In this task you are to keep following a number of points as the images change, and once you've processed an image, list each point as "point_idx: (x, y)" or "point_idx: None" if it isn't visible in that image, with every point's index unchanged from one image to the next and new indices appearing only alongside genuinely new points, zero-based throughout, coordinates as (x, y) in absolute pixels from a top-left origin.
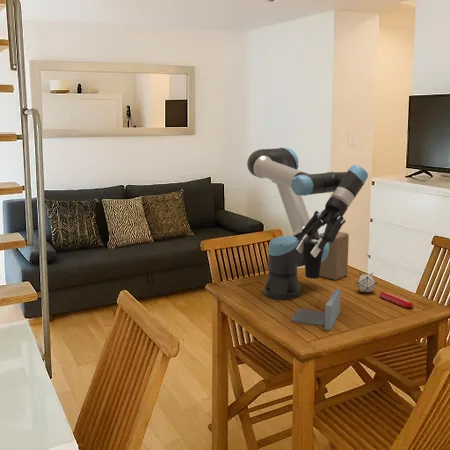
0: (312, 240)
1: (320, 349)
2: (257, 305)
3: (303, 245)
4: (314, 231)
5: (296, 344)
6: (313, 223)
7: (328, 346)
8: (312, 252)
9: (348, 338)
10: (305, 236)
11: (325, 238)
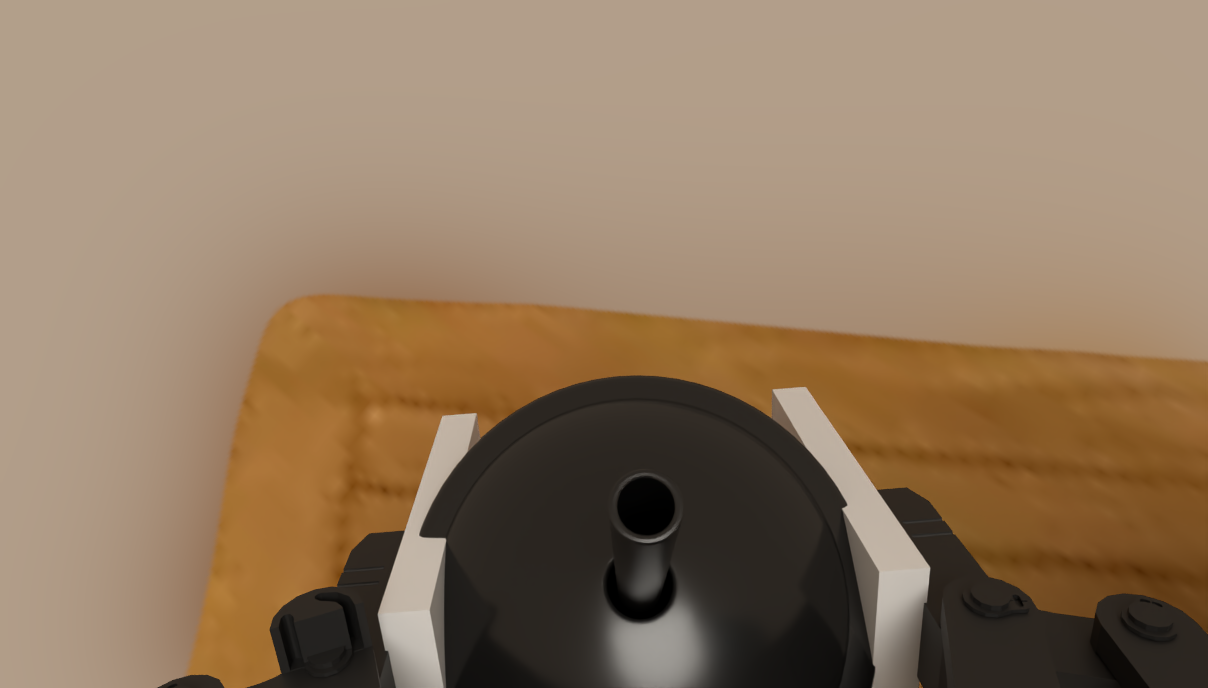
0: (525, 462)
1: (246, 396)
2: (1021, 479)
3: None
4: (615, 566)
5: (376, 330)
6: (632, 475)
7: (240, 457)
8: (441, 427)
9: (227, 643)
10: (865, 535)
11: (291, 675)
